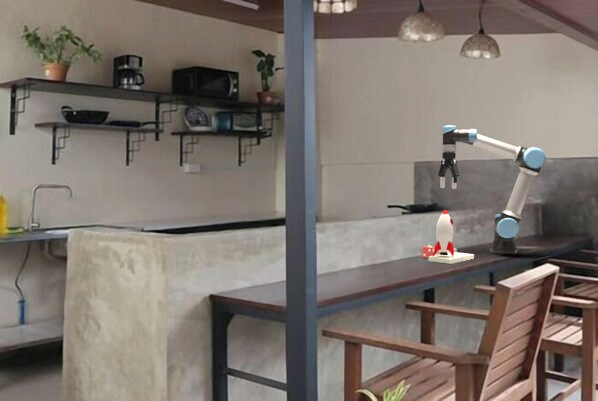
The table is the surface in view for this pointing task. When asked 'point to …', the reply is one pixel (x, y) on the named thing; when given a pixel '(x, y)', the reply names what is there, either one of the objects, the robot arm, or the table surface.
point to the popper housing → (447, 252)
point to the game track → (451, 258)
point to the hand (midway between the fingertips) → (448, 188)
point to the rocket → (444, 235)
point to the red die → (428, 251)
